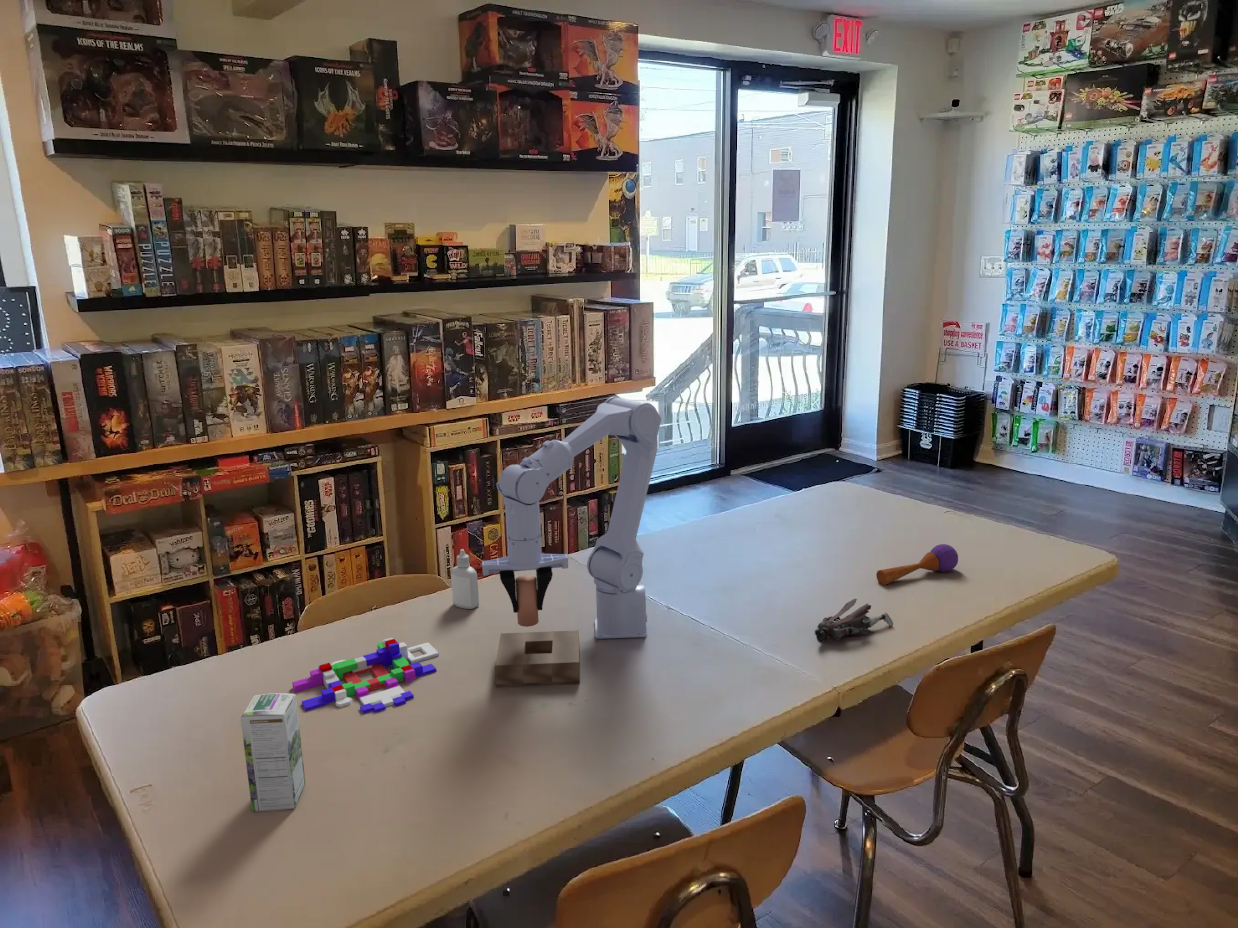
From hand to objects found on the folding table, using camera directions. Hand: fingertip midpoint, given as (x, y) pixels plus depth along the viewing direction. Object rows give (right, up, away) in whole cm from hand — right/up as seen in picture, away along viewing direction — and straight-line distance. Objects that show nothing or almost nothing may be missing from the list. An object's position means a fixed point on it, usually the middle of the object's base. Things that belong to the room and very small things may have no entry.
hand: (527, 609), depth 156 cm
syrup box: (-30, -21, -33) cm, 49 cm away
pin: (0, -2, +1) cm, 2 cm away
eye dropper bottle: (-15, -4, +27) cm, 32 cm away
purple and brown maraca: (+80, +1, +38) cm, 88 cm away
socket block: (+2, -10, +1) cm, 11 cm away
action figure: (+58, -7, +12) cm, 60 cm away
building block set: (-26, -13, -2) cm, 29 cm away
